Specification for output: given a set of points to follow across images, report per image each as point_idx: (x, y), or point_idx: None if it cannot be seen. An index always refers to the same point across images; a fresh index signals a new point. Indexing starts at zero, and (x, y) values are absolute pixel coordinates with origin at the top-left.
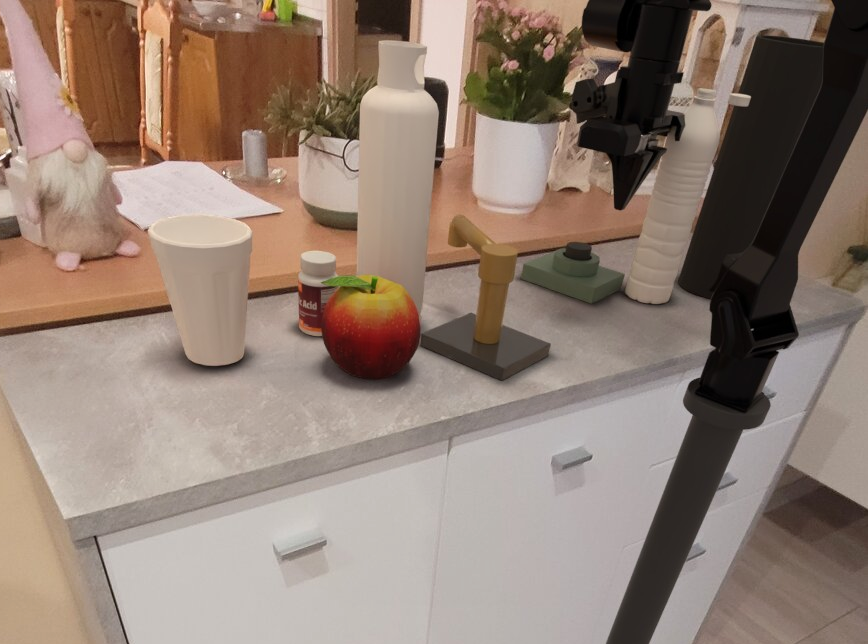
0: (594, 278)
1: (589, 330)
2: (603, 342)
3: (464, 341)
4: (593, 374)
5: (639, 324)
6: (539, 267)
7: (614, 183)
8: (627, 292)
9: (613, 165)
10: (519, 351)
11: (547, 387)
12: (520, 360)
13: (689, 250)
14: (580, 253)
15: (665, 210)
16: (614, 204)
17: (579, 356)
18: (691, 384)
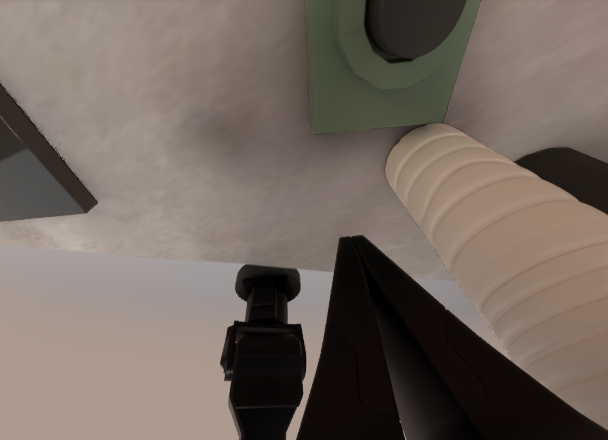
0: (364, 98)
1: (219, 185)
2: (209, 215)
3: None
4: (136, 250)
5: (304, 209)
6: None
7: (328, 313)
8: (399, 143)
9: (304, 426)
10: (14, 206)
11: (55, 244)
12: (9, 220)
13: (568, 189)
14: (382, 41)
15: (469, 283)
16: (338, 246)
17: (146, 221)
18: (255, 272)
